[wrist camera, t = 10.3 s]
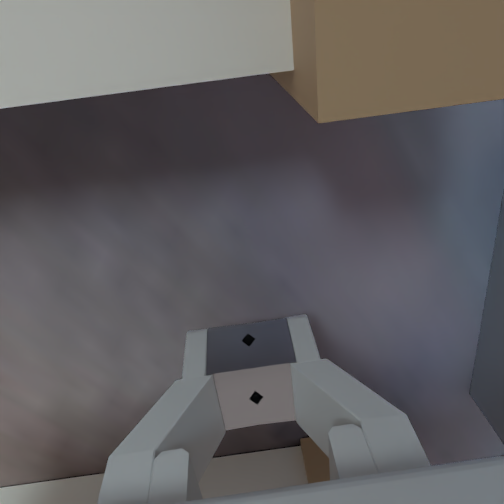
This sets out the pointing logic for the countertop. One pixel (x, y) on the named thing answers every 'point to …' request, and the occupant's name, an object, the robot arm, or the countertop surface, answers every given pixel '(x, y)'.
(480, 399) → the cover plate
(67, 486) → the pair of white bars
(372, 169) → the countertop surface
